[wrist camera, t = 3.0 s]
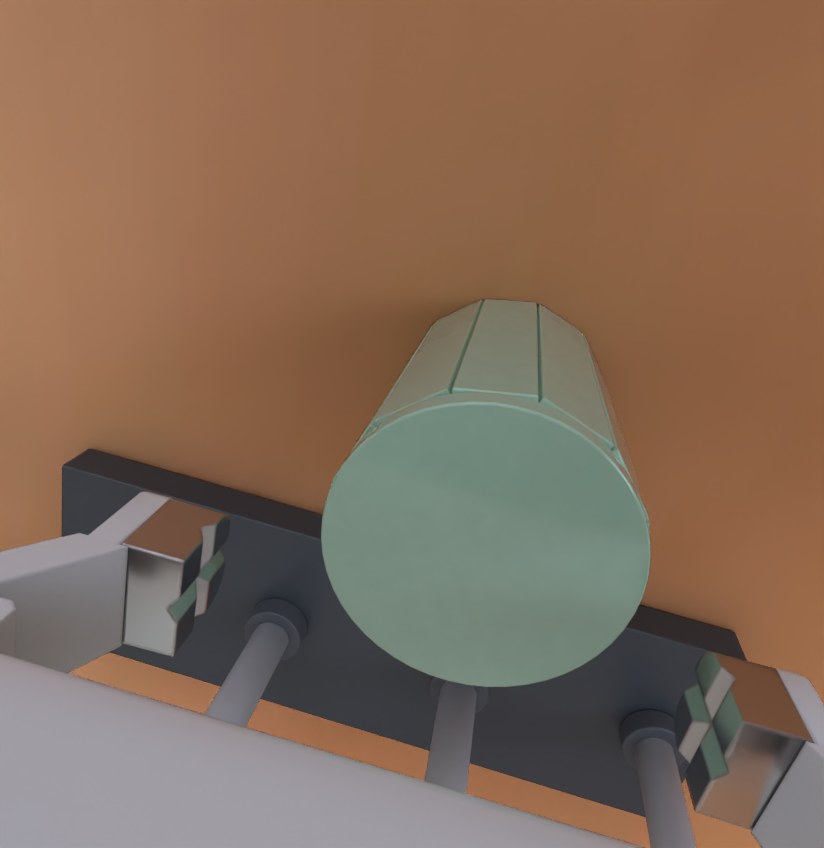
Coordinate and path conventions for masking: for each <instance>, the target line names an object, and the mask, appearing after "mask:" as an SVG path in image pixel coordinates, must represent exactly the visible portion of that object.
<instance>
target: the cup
mask: <svg viewBox="0 0 824 848" xmlns="http://www.w3.org/2000/svg"><path fill="white" fill-rule="evenodd" d="M649 529H650V524H649V515H648V512H647V509H646V506H645V503H644V500H643V497H642V494H641V491H640V487H639V484H638V481H637V478H636V475H635V472H634V469H633V466H632V463H631V460H630V457H629V454H628V451H627V448H626V445H625V441H624V438H623V435H622V432H621V429H620V426H619V423H618V420H617V417H616V414H615V411H614V408H613V405H612V402H611V398H610V395H609V392H608V389H607V386H606V383H605V380H604V378H603V375H602V373H601V371H600V369H599V366H598V364H597V362H596V360H595V357H594V355H593V353H592V350H591V348H590V346H589V344H588V341H587V339H586V337H585V336H583V334H582V332H581V331H579V330H578V329H576V328H575V327H573V326H572V325H570V324H569V323H567V322H566V321H564V320H563V319H562V318H560V317H559V316H557V315H556V314H554V313H553V312H551V311H550V310H548V309H547V308H546V307H544V306H543V305H541V304H540V305H539V306H538V307H537V303H535V302H521V301H508V300H494V299H485V300H484V302H482V300H479V301H477V302H475V303H473V304H471V305H468V306H466V307H464V308H462V309H460V310H458V311H456V312H454V313H452V314H450V315H448V316H445V317H443V318H441V319H439V320H437V321H436V322H435V324H432V326H431V327H430V329H429V330H428V332H427V333H426V335H425V336H424V338H423V339H422V341H421V342H420V344H419V345H418V347H417V348H416V350H415V351H414V353H413V354H412V356H411V357H410V359H409V360H408V362H407V363H406V365H405V366H404V368H403V369H402V371H401V373H400V374H399V376H398V377H397V379H396V380H395V382H394V384H393V385H392V387H391V388H390V390H389V391H388V393H387V395H386V396H385V398H384V399H383V401H382V402H381V404H380V406H379V407H378V409H377V410H376V412H375V413H374V415H373V416H372V418H371V420H370V421H369V423H368V424H367V426H366V427H365V429H364V431H363V432H362V434H361V435H360V437H359V438H358V440H357V442H356V443H355V445H354V446H353V448H352V449H351V451H350V453H349V454H348V456H347V457H346V459H345V460H344V462H343V464H342V465H341V467H340V468H339V470H338V471H337V473H336V474H335V476H334V478H333V479H332V485H331V486H330V490H329V493H328V495H327V498H326V501H325V506H324V511H323V515H322V525H321V543H322V554H323V559H324V563H325V568H326V572H327V575H328V577H329V580H330V583H331V585H332V588H333V590H334V592H335V594H336V596H337V598H338V599H339V601H340V603H341V605H342V606H343V608H344V609H345V611H346V612H347V614H348V615H349V616H350V618H351V619H352V621H353V622H354V623H355V624H356V625H357V626H358V627H359V628H360V630H361V631H362V632H363V633H364V634H365V635H366V636H367V637H368V638H370V639H371V640H372V641H373V642H374V643H375V644H376V645H377V646H379V647H380V648H381V649H383V650H384V651H386V652H387V653H388V654H390V655H391V656H393V657H394V658H396V659H398V660H399V661H401V662H403V663H405V664H406V665H408V666H410V667H412V668H414V669H417V670H419V671H421V672H423V673H426V674H428V675H431V676H434V677H437V678H440V679H443V680H447V681H451V682H456V683H460V684H465V685H473V686H482V687H511V686H520V685H528V684H533V683H537V682H542V681H546V680H549V679H552V678H555V677H558V676H561V675H564V674H566V673H568V672H570V671H572V670H574V669H576V668H578V667H580V666H582V665H584V664H585V663H587V662H588V661H590V660H592V659H593V658H595V657H596V656H598V655H599V654H600V653H601V652H602V651H604V650H605V649H606V648H607V647H608V646H610V645H611V644H612V643H613V642H614V641H615V639H616V638H617V637H618V636H619V635H620V634H621V633H622V632H623V631H624V629H625V628H626V626H627V625H628V623H629V622H630V620H631V619H632V617H633V616H634V614H635V613H636V610H637V608H638V606H639V604H640V602H641V600H642V598H643V595H644V592H645V588H646V585H647V581H648V578H649V570H650V562H651V547H650V535H649Z"/></svg>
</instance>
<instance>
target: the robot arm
mask: <svg viewBox="0 0 824 848" xmlns="http://www.w3.org/2000/svg"><path fill="white" fill-rule="evenodd" d="M229 528H230V520H229V517H228V515H225V514H222V513H219V512H215V511H212V510H209V509H205V508H202V507H199V506H195V505H192V504H189V503H186V502H182V501H179V500H176V499H172V498H169V497H166V496H162V495H158V494H155V493H151V492H140V493H139V494H138V495H136V496H135V497H134V498H133V499H131V500H130V501H129V502H128V503H127V504H125V505H124V506H123V507H122V508H121V509H119V510H118V511H117V512H116V513H114V514H113V515H112V516H111V517H110V518H108V519H107V520H106V521H105V522H103V523H102V524H101V525H100V526H99V527H97V528H96V529H95V530H94V531H93V532H91V533H90V534H89V535H85V534H81V533H77V534H73V535H68V536H64V537H60V538H56V539H51V540H47V541H43V542H39V543H34V544H30V545H26V546H22V547H17V548H13V549H9V550H5V551H0V848H645V847H641V846H638V845H635V844H631V843H628V842H625V841H621V840H618V839H615V838H611V837H608V836H605V835H601V834H598V833H595V832H592V831H588V830H585V829H582V828H578V827H575V826H572V825H568V824H565V823H562V822H558V821H555V820H552V819H548V818H545V817H542V816H538V815H535V814H532V813H528V812H525V811H522V810H519V809H515V808H512V807H509V806H505V805H502V804H499V803H495V802H492V801H489V800H485V799H482V798H479V797H476V796H472V795H469V794H466V793H462V792H459V791H456V790H452V789H449V788H446V787H442V786H439V785H436V784H432V783H429V782H426V781H423V780H419V779H416V778H413V777H409V776H406V775H403V774H399V773H396V772H393V771H389V770H386V769H383V768H379V767H376V766H373V765H370V764H366V763H363V762H360V761H356V760H353V759H350V758H346V757H343V756H340V755H336V754H333V753H330V752H327V751H323V750H320V749H317V748H313V747H310V746H307V745H303V744H300V743H297V742H293V741H290V740H287V739H283V738H280V737H277V736H274V735H270V734H267V733H264V732H260V731H257V730H254V729H250V728H247V727H244V726H240V725H237V724H234V723H231V722H227V721H224V720H221V719H217V718H214V717H211V716H207V715H204V714H201V713H197V712H194V711H191V710H187V709H184V708H181V707H178V706H174V705H171V704H168V703H164V702H161V701H158V700H154V699H151V698H148V697H144V696H141V695H138V694H134V693H131V692H128V691H125V690H121V689H118V688H115V687H111V686H108V685H105V684H101V683H98V682H95V681H91V680H88V679H85V678H82V677H78V676H75V675H72V674H68V673H69V672H71V671H73V670H75V669H77V668H79V667H81V666H83V665H85V664H87V663H89V662H91V661H93V660H95V659H97V658H99V657H100V656H102V655H104V654H106V653H108V652H110V651H112V650H114V649H116V648H118V647H120V646H121V645H122V643H123V644H127V645H131V646H135V647H138V648H142V649H146V650H150V651H153V652H157V653H161V654H165V655H168V656H172V657H173V656H174V655H175V653H176V652H177V651H178V649H179V648H180V647H181V645H182V644H183V643H184V641H185V640H186V638H187V637H188V636H189V634H190V633H191V632H192V630H193V625H194V617H196V616H198V615H201V614H203V613H205V612H206V611H207V609H208V608H209V607H210V605H211V604H212V602H213V600H214V598H215V596H216V594H217V592H218V589H219V587H220V584H221V581H222V577H223V573H224V567H225V561H226V560H225V558H224V556H223V554H222V552H221V550H220V548H221V547H222V546H223V544H224V543H225V542H226V540H227V539H228V538H229ZM694 670H695V673H696V676H697V679H698V682H699V683H697V684H695V685H694V686H692V687H690V688H688V689H686V690H684V692H683V694H682V696H681V699H680V701H679V703H678V706H677V710H676V716H675V722H674V730H675V740H676V744H677V748H678V751H679V752H680V753H681V754H682V755H683V756H684V758H685V759H686V760H687V761H688V762H689V763H690V764H689V766H688V768H687V770H686V772H685V777H686V781H687V785H688V788H689V792H690V796H691V799H692V803H693V806H694V810H695V812H698V813H701V814H704V815H707V816H710V817H713V818H716V819H719V820H722V821H725V822H728V823H731V824H734V825H737V826H740V827H744V828H747V829H750V830H752V831H751V833H752V835H753V836H754V837H755V839H756V840H757V841H758V843H759V844H760V845H761V847H762V848H824V704H823V703H822V701H821V699H820V697H819V696H818V694H817V692H816V691H815V689H814V687H813V685H812V684H811V682H810V680H808V679H807V678H806V677H805V676H803V675H802V674H798V673H794V672H790V671H786V670H782V669H778V668H773V667H768V666H764V665H760V664H756V663H752V662H748V661H745V660H741V659H737V658H733V657H729V656H725V655H722V654H718V653H714V652H710V651H707V652H706V653H705V654H704V655H703V656H702V657H701V658H700V660H699V661H698V663H697V665H696V667H695V669H694Z"/></svg>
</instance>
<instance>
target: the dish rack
mask: <svg viewBox="0 0 824 848" xmlns="http://www.w3.org/2000/svg"><path fill="white" fill-rule="evenodd" d="M140 492H151V493H155V494H158V495H162V496H166V497H169V498H172V499H176V500H179V501H182V502H186V503H189V504H192V505H195V506H199V507H202V508H205V509H209V510H212V511H215V512H219V513H222V514H225V515H228V517H229V520H230V528H229V538H228V539H227V540H226V542H225V543H224V544H223V546H222V547H221V548H220V550H221V552H222V554H223V556H224V558H225V560H226V561H225V567H224V573H223V577H222V581H221V584H220V587H219V589H218V592H217V594H216V596H215V598H214V600H213V602H212V604H211V605H210V607H209V608H208V609H207V611H206V612H205V613H203V614H201V615H198V616H196V617H194V625H193V630H192V632H191V633H190V634H189V636H188V637H187V638H186V640H185V641H184V643H183V644H182V645H181V647H180V648H179V649H178V651H177V652H176V653H175V655H174V656H173V657H172V656H168V655H165V654H161V653H157V652H153V651H150V650H146V649H142V648H138V647H135V646H131V645H127V644H123V643H122V645H121V646H120V647H118V648H116V649H114V650H112V651H110V652H111V653H114V654H117V655H120V656H124V657H127V658H130V659H133V660H137V661H140V662H143V663H146V664H150V665H153V666H156V667H159V668H163V669H166V670H169V671H172V672H176V673H179V674H182V675H185V676H189V677H192V678H195V679H198V680H202V681H205V682H208V683H211V684H215V685H218V686H221V688H220V689H219V691H218V693H217V694H216V696H215V698H214V699H213V701H212V703H211V705H210V706H209V708H208V710H207V711H206V713H205V715H207V716H211V717H214V718H217V719H221V720H224V721H227V722H231V723H234V724H237V725H240V726H244V727H246V725H247V723H248V721H249V719H250V717H251V715H252V714H253V712H254V710H255V708H256V706H257V704H258V702H259V700H260V699H263V700H267V701H270V702H273V703H276V704H280V705H283V706H286V707H289V708H293V709H296V710H299V711H302V712H306V713H309V714H312V715H315V716H319V717H322V718H325V719H328V720H332V721H335V722H338V723H341V724H345V725H348V726H351V727H354V728H358V729H361V730H364V731H367V732H371V733H374V734H377V735H380V736H384V737H387V738H390V739H393V740H397V741H400V742H403V743H406V744H410V745H413V746H416V747H419V748H423V749H426V750H429V751H430V752H429V758H428V763H427V769H426V775H425V780H424V781H426V782H429V783H432V784H436V785H439V786H442V787H446V788H449V789H452V790H456V791H459V792H462V793H466V792H467V782H468V773H469V764H470V763H471V764H474V765H478V766H481V767H484V768H487V769H491V770H494V771H497V772H500V773H504V774H507V775H510V776H513V777H517V778H520V779H523V780H526V781H530V782H533V783H536V784H539V785H543V786H546V787H549V788H552V789H556V790H559V791H562V792H565V793H569V794H572V795H575V796H578V797H582V798H585V799H588V800H591V801H595V802H598V803H601V804H604V805H608V806H611V807H614V808H617V809H621V810H624V811H627V812H630V813H634V814H637V815H640V816H643V817H646V822H647V827H648V833H649V839H650V845H651V848H697V847H696V843H695V839H694V835H693V830H692V826H691V822H690V818H689V814H688V809H687V805H686V801H685V797H684V792H683V788H682V783H683V781H684V779H685V772H686V770H687V768H688V766H689V764H690V763H689V762H688V761H687V760H686V759H685V758H684V756H683V755H682V754H681V753H680V752H679V751H678V748H677V744H676V740H675V730H674V722H675V716H676V710H677V706H678V703H679V701H680V699H681V696H682V694H683V692H684V690H686V689H688V688H690V687H692V686H694V685H695V684H697V683H699V682H698V679H697V676H696V673H695V670H694V669H695V667H696V665H697V663H698V661H699V660H700V658H701V657H702V656H703V655H704V654H705V653H706V652H707V651H710V652H714V653H718V654H722V655H725V656H729V657H733V658H737V659H741V660H745V661H747V660H746V658H745V655H744V653H743V651H742V648H741V646H740V644H739V641H738V639H737V637H736V634H735V633H734V632H733V631H730V630H726V629H723V628H719V627H716V626H712V625H709V624H705V623H702V622H698V621H694V620H691V619H687V618H684V617H680V616H677V615H673V614H670V613H666V612H663V611H659V610H656V609H652V608H649V607H645V606H642V605H639V606H638V608H637V610H636V613H635V614H634V616H633V617H632V619H631V620H630V622H629V623H628V625H627V626H626V628H625V629H624V631H623V632H622V633H621V634H620V635H619V636H618V637H617V638H616V639H615V641H614V642H613V643H612V644H611V645H610V646H608V647H607V648H606V649H605V650H604V651H602V652H601V653H600V654H599V655H598V656H596V657H595V658H593V659H592V660H590V661H588V662H587V663H585V664H584V665H582V666H580V667H578V668H576V669H574V670H572V671H570V672H568V673H566V674H564V675H561V676H558V677H555V678H552V679H549V680H546V681H542V682H537V683H533V684H528V685H520V686H511V687H482V686H473V685H465V684H460V683H456V682H451V681H447V680H443V679H440V678H437V677H434V676H431V675H428V674H426V673H423V672H421V671H419V670H417V669H414V668H412V667H410V666H408V665H406V664H405V663H403V662H401V661H399V660H398V659H396V658H394V657H393V656H391V655H390V654H388V653H387V652H386V651H384V650H383V649H381V648H380V647H379V646H377V645H376V644H375V643H374V642H373V641H372V640H371V639H370V638H368V637H367V636H366V635H365V634H364V633H363V632H362V631H361V630H360V628H359V627H358V626H357V625H356V624H355V623H354V622H353V621H352V619H351V618H350V616H349V615H348V614H347V612H346V611H345V609H344V608H343V606H342V605H341V603H340V601H339V599H338V598H337V596H336V594H335V592H334V590H333V588H332V585H331V583H330V580H329V577H328V575H327V572H326V568H325V563H324V559H323V554H322V543H321V525H322V515H321V514H318V513H314V512H310V511H307V510H303V509H300V508H296V507H293V506H289V505H286V504H282V503H279V502H275V501H272V500H268V499H265V498H261V497H258V496H254V495H251V494H247V493H244V492H240V491H236V490H233V489H229V488H226V487H222V486H219V485H215V484H212V483H208V482H205V481H201V480H198V479H194V478H191V477H187V476H184V475H180V474H177V473H173V472H170V471H166V470H163V469H159V468H155V467H152V466H148V465H145V464H141V463H138V462H134V461H131V460H127V459H124V458H120V457H117V456H113V455H110V454H106V453H103V452H99V451H96V450H92V449H88V450H86V451H84V452H83V453H81V454H80V455H78V456H77V457H75V458H74V459H72V460H70V461H69V462H67V463H66V464H64V465H63V467H62V537H64V536H68V535H73V534H77V533H81V534H85V535H89V534H90V533H91V532H93V531H94V530H95V529H96V528H97V527H99V526H100V525H101V524H102V523H103V522H105V521H106V520H107V519H108V518H110V517H111V516H112V515H113V514H114V513H116V512H117V511H118V510H119V509H121V508H122V507H123V506H124V505H125V504H127V503H128V502H129V501H130V500H131V499H133V498H134V497H135V496H136V495H138V494H139V493H140Z"/></svg>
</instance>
